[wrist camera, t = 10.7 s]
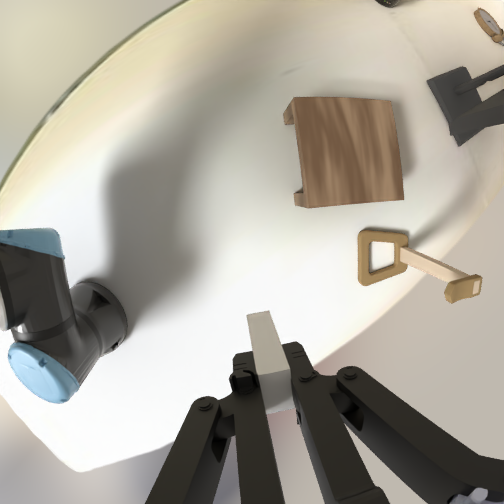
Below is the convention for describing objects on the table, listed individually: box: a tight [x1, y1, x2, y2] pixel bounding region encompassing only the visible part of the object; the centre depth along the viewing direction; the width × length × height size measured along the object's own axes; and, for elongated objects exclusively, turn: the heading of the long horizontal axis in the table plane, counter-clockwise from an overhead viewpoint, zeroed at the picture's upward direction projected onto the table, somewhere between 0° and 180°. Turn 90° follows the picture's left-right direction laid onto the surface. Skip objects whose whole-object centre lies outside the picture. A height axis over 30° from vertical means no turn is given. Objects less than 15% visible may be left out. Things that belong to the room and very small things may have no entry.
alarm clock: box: [474, 8, 504, 46], centre depth 34 cm, size 11×5×15 cm
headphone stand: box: [358, 230, 482, 304], centre depth 38 cm, size 10×11×22 cm
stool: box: [283, 97, 404, 208], centre depth 40 cm, size 9×16×16 cm
